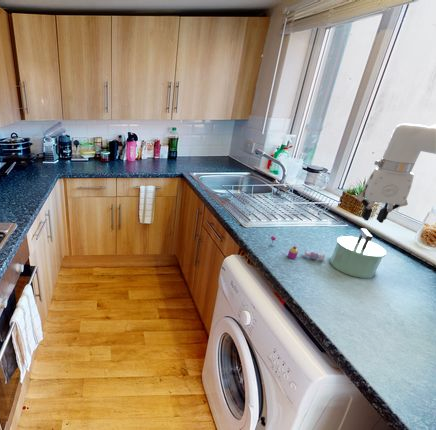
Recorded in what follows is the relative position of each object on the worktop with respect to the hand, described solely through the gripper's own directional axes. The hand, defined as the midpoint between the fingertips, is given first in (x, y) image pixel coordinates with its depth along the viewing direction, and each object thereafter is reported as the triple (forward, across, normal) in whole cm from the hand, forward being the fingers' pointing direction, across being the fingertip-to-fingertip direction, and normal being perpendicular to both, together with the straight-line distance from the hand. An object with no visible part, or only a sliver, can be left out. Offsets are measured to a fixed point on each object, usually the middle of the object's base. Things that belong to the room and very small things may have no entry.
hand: (372, 219), depth 95 cm
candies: (+19, -18, +1) cm, 26 cm away
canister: (+19, 0, 0) cm, 19 cm away
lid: (+11, 0, 0) cm, 11 cm away
